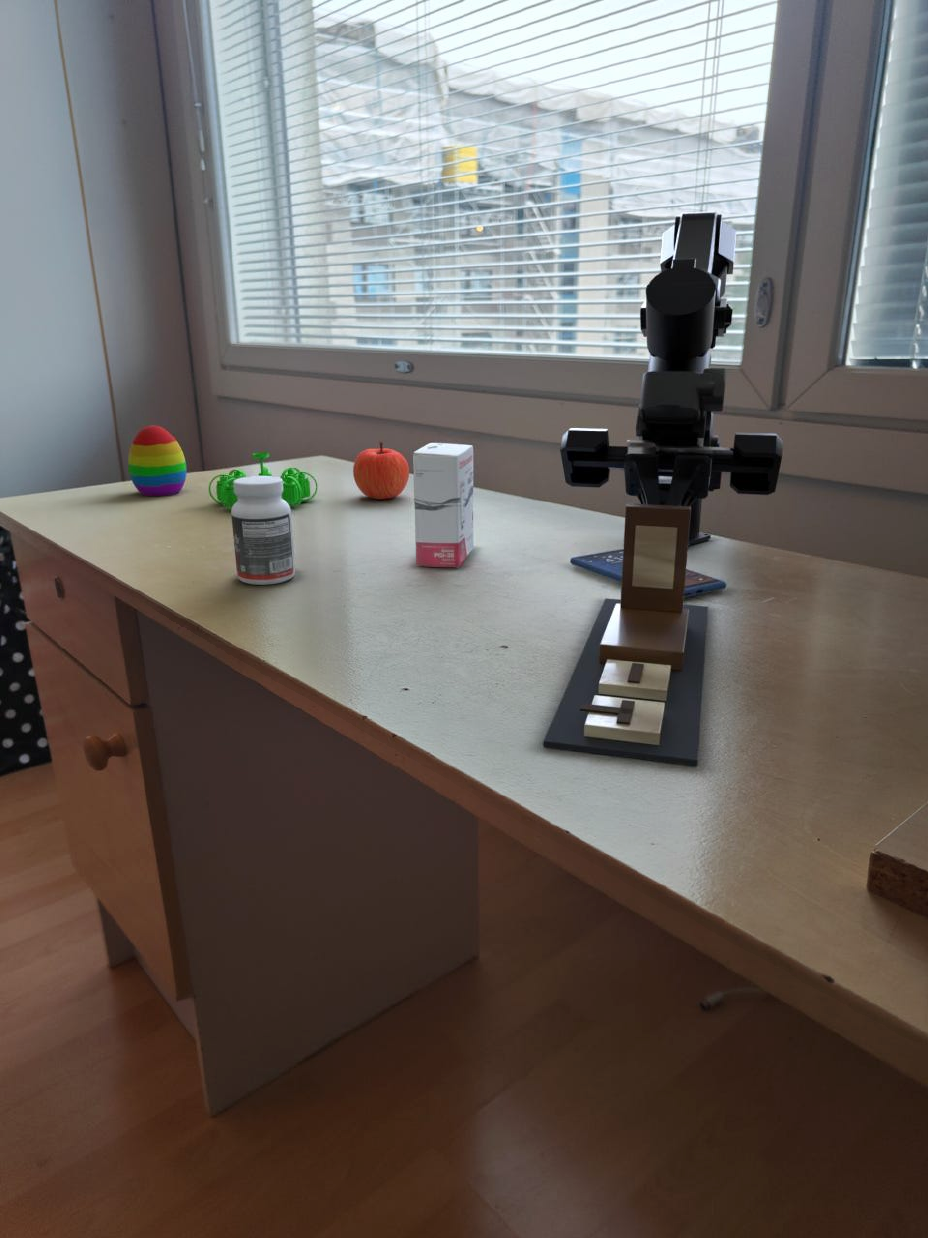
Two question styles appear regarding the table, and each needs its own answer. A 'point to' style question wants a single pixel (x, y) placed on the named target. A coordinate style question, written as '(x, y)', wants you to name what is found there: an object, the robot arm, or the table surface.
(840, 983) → the table surface
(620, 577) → the smartphone
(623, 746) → the word mat
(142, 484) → the decorative egg
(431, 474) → the ink box
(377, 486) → the apple
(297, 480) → the chandelier
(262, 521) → the pill bottle
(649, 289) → the robot arm
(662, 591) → the brown picture frame
